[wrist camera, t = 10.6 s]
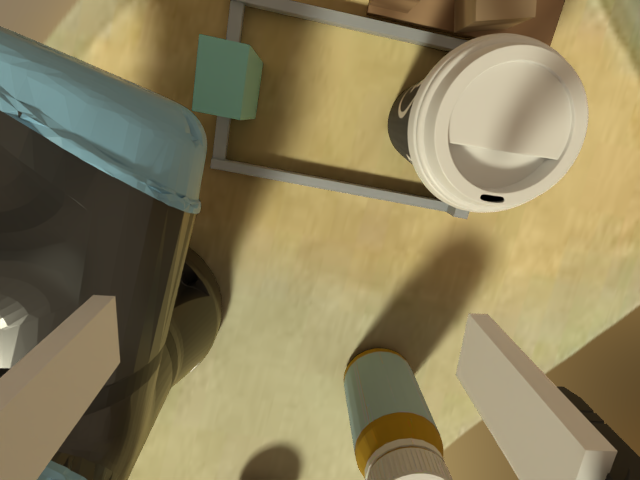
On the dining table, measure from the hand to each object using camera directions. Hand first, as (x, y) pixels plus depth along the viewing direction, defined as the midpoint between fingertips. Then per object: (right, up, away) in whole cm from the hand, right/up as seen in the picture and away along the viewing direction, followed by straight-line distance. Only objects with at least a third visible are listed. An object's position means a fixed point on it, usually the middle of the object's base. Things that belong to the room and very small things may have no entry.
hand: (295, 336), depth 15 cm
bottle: (+7, -10, +27) cm, 30 cm away
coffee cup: (+10, +14, +20) cm, 26 cm away
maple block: (+13, +22, +16) cm, 31 cm away
